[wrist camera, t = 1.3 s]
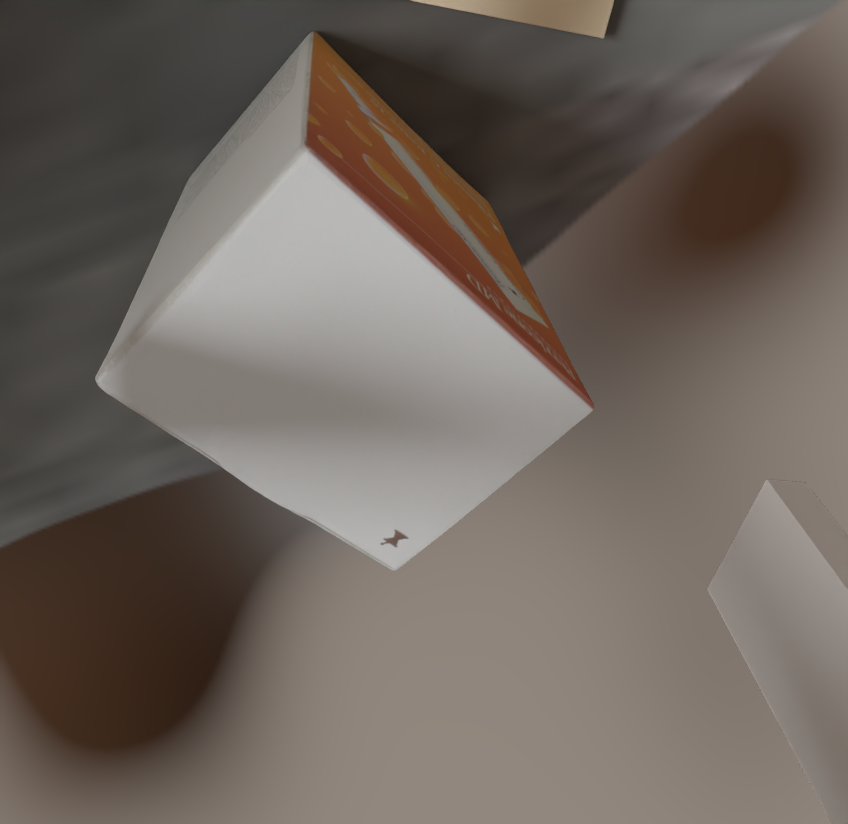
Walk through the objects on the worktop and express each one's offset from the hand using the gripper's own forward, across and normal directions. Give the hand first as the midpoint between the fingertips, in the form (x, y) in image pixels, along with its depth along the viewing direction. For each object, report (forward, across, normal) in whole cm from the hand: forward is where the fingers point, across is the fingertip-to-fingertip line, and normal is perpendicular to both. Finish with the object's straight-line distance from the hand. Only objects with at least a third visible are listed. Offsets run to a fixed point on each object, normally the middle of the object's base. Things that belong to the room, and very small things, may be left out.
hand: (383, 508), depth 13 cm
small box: (+16, 0, 0) cm, 16 cm away
